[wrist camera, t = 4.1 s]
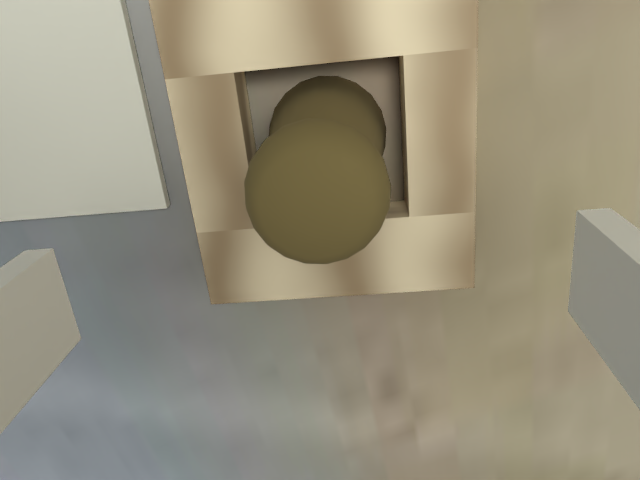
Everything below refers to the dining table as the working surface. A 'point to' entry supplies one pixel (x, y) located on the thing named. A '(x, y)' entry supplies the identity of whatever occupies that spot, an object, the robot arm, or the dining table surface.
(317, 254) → the olive peg figure
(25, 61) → the rubber mat
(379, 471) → the dining table surface
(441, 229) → the socket block
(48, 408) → the dining table surface
